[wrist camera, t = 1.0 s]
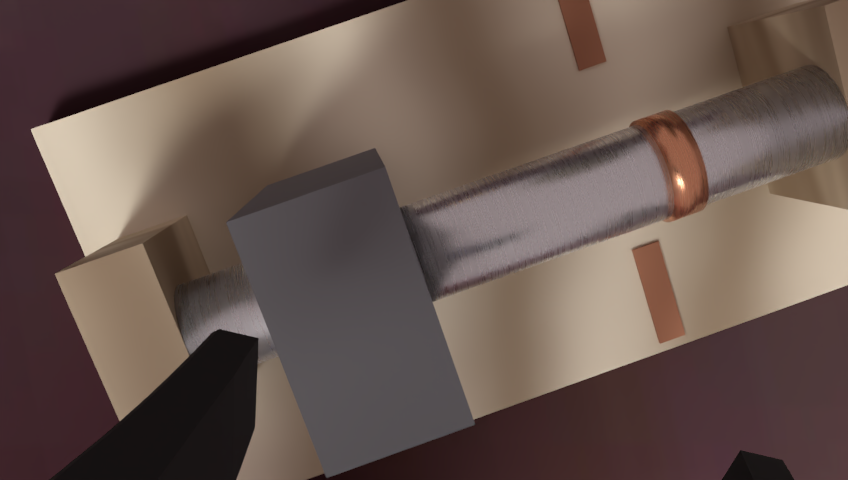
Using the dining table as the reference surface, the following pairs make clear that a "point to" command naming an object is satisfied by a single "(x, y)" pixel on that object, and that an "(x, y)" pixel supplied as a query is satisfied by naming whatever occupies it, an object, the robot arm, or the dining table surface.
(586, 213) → the pipe
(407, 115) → the pipe stand
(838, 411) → the dining table surface
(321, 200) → the collar
